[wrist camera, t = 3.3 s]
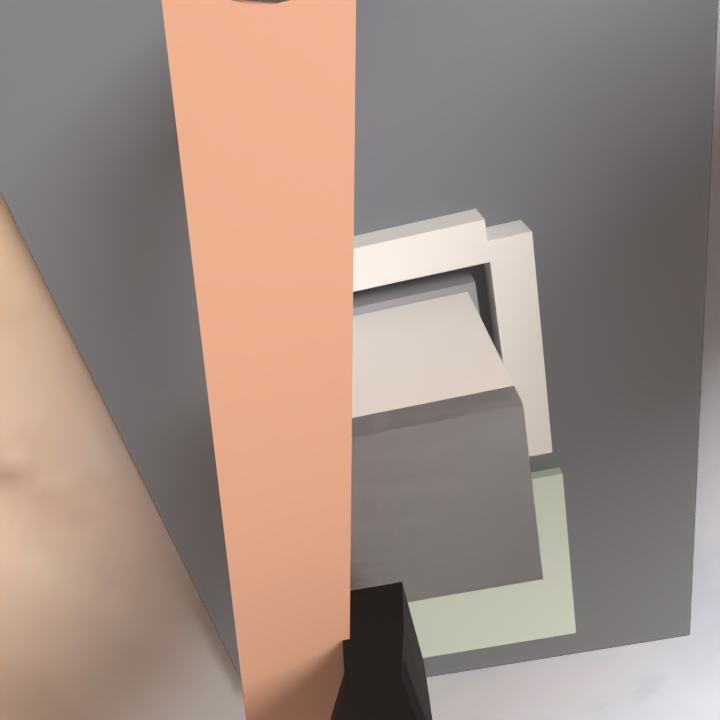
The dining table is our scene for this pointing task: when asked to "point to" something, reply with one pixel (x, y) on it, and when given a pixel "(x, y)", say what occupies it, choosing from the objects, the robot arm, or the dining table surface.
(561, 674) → the dining table surface
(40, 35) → the fixture base plate
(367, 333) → the plug
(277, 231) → the retention clip
